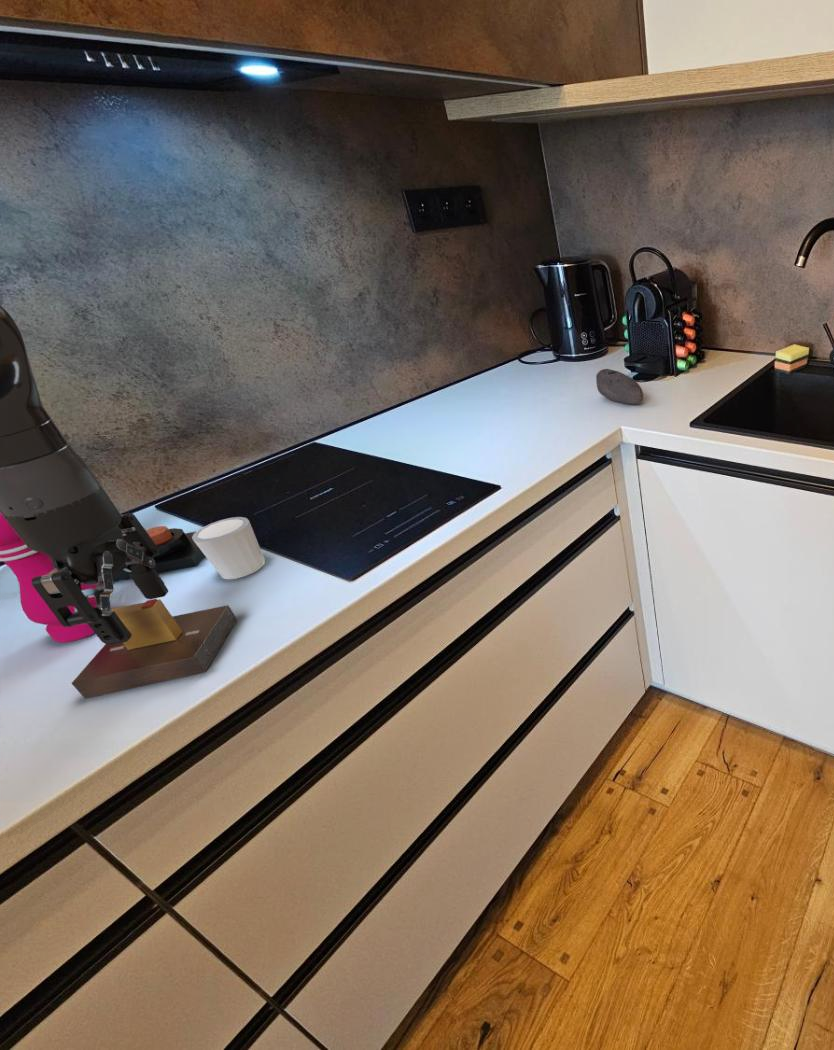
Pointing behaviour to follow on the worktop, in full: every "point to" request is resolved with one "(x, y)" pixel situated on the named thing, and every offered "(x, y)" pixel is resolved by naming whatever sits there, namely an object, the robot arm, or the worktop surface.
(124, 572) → the block
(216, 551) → the white cup
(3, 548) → the pepper mill
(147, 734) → the worktop surface
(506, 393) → the worktop surface
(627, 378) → the perforated stone tool
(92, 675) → the plate
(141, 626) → the lock knob
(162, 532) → the button
